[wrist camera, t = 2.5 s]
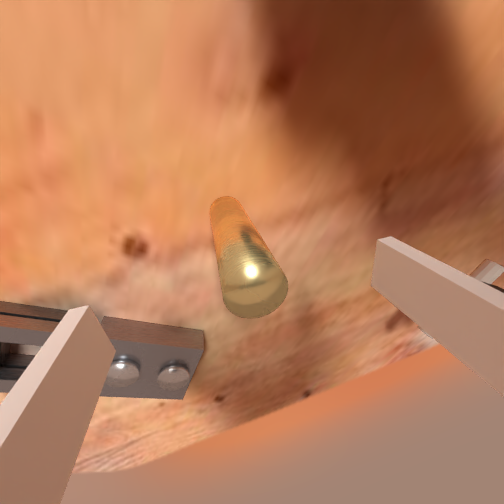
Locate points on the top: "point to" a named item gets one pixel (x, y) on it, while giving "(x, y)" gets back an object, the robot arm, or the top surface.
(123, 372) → the chain end
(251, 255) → the pin
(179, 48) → the top surface
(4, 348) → the bar
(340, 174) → the top surface
